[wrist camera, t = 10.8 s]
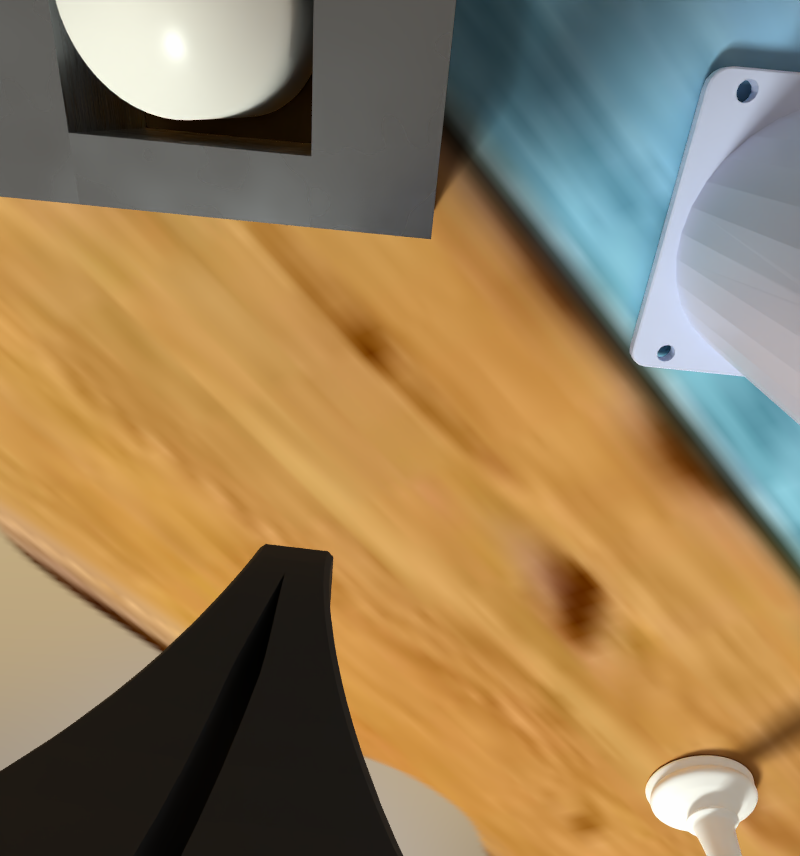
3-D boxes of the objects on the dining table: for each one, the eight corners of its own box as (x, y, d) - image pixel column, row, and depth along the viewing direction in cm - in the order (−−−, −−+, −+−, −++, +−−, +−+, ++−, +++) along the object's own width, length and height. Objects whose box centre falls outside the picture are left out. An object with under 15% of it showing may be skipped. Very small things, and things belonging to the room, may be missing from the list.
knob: (323, -82, 14) (279, -155, 10) (320, 124, 16) (281, 130, 12) (140, -99, 14) (27, -178, 10) (159, 109, 17) (70, 109, 13)
